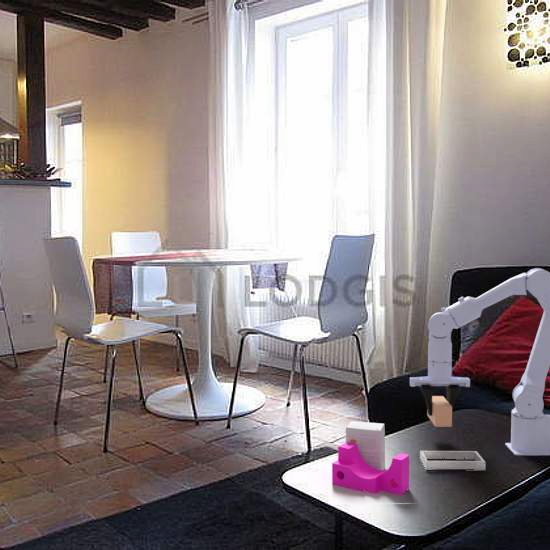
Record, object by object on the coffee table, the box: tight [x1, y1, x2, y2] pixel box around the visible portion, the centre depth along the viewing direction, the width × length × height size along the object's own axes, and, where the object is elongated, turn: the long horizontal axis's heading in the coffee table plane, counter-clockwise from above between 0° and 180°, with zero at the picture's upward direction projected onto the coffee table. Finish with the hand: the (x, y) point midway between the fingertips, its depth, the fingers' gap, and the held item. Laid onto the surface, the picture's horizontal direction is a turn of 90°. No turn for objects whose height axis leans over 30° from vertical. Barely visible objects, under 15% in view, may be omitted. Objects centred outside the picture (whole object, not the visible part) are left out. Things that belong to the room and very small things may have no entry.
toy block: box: [331, 441, 410, 496], centre depth 137 cm, size 15×6×8 cm, turn 54°
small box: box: [345, 420, 386, 470], centre depth 145 cm, size 8×6×10 cm
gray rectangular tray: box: [419, 450, 486, 471], centre depth 147 cm, size 13×7×2 cm, turn 88°
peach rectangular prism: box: [426, 395, 453, 428], centre depth 161 cm, size 4×10×5 cm, turn 178°
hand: (439, 414), depth 161 cm, fingers closed on peach rectangular prism, 4 cm apart
